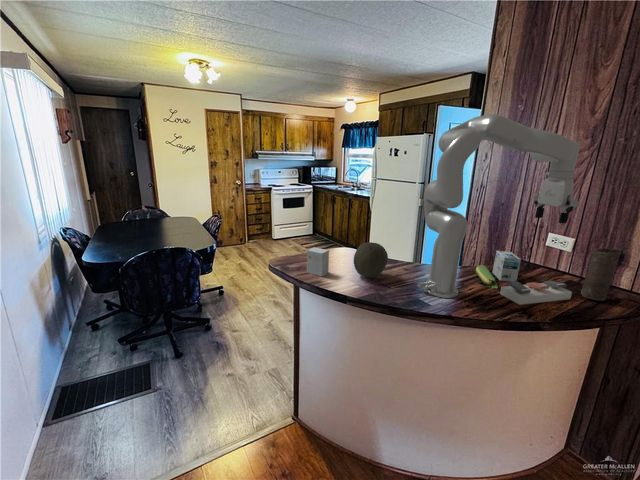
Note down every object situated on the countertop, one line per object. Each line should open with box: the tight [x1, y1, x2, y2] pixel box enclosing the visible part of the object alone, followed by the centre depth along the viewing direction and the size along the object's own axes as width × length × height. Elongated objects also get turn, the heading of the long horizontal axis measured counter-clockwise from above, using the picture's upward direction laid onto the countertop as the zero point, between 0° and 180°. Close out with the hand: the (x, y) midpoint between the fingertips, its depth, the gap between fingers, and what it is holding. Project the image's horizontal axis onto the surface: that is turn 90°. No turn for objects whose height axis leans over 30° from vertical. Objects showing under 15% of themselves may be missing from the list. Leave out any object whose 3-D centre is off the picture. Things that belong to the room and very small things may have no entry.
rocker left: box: [508, 281, 531, 294], centre depth 115 cm, size 4×6×1 cm, turn 14°
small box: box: [306, 247, 330, 277], centre depth 134 cm, size 8×6×10 cm
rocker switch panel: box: [499, 282, 573, 306], centre depth 118 cm, size 24×9×4 cm, turn 104°
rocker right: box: [542, 280, 568, 288], centre depth 120 cm, size 4×6×1 cm, turn 14°
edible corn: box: [474, 264, 499, 290], centre depth 132 cm, size 5×20×5 cm
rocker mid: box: [525, 281, 549, 289], centre depth 117 cm, size 4×6×1 cm, turn 14°
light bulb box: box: [492, 250, 522, 283], centre depth 136 cm, size 11×7×11 cm, turn 168°
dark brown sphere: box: [353, 241, 389, 280], centre depth 131 cm, size 14×14×15 cm
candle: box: [580, 247, 621, 301], centre depth 116 cm, size 8×7×20 cm
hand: (550, 220), depth 121 cm, fingers open, 9 cm apart
